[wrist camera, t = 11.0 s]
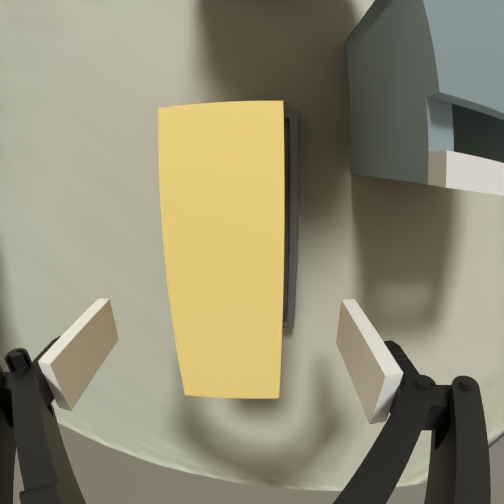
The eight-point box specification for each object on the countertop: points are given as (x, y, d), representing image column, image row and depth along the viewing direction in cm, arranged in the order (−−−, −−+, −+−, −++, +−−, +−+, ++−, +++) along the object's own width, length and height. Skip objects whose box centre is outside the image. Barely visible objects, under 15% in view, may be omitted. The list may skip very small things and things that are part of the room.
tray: (198, 316, 27) (194, 326, 25) (188, 117, 22) (183, 113, 21) (292, 317, 27) (293, 327, 25) (295, 114, 22) (297, 110, 20)
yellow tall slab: (215, 302, 26) (185, 395, 15) (208, 135, 22) (158, 108, 11) (273, 302, 26) (279, 398, 14) (272, 134, 22) (283, 100, 11)
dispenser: (350, 174, 23) (445, 187, 10) (345, 42, 20) (410, -47, 7) (441, 182, 23) (555, 205, 9) (434, 61, 20) (531, 15, 6)
